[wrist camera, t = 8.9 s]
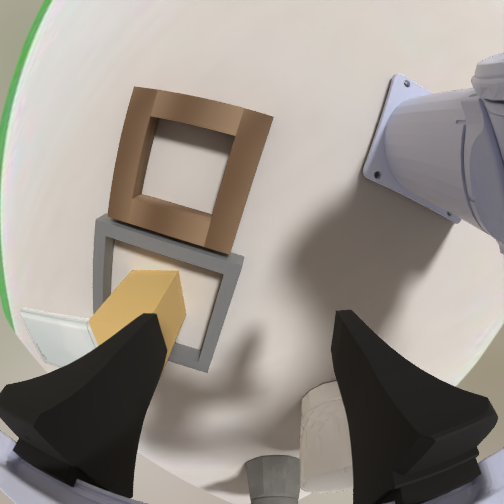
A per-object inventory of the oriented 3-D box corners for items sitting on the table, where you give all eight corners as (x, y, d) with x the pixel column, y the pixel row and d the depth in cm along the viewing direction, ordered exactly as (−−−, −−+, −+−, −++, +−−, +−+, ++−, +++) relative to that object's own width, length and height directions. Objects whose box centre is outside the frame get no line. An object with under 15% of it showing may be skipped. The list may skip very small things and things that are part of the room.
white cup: (296, 379, 25) (302, 471, 15) (374, 371, 24) (401, 454, 15) (294, 421, 28) (297, 496, 18) (360, 413, 27) (375, 484, 18)
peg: (178, 270, 21) (144, 327, 14) (186, 314, 22) (160, 376, 16) (132, 270, 21) (88, 321, 14) (142, 311, 22) (108, 367, 16)
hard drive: (44, 363, 26) (119, 384, 25) (18, 311, 23) (94, 326, 22) (50, 356, 28) (124, 374, 27) (26, 304, 24) (102, 316, 24)
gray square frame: (244, 256, 20) (242, 265, 18) (210, 361, 24) (207, 372, 23) (105, 213, 19) (95, 219, 18) (101, 322, 23) (94, 331, 22)
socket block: (273, 118, 16) (273, 116, 15) (232, 246, 19) (229, 254, 18) (143, 89, 15) (134, 86, 14) (117, 210, 19) (107, 216, 17)
